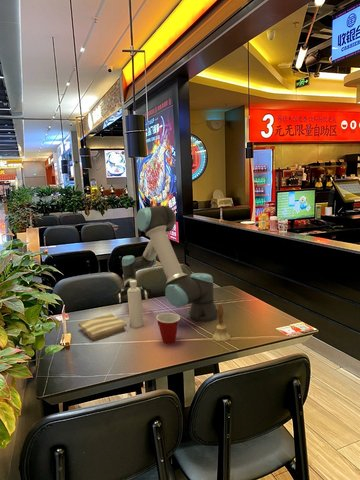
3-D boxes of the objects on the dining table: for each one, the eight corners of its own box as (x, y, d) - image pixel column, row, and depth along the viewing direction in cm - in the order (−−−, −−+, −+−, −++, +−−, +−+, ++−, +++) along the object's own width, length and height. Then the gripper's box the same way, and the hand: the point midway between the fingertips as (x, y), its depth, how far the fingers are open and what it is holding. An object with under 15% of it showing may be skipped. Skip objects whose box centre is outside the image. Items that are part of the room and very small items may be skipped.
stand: (127, 330, 178) (126, 323, 177) (92, 342, 167) (92, 334, 167) (111, 320, 192) (110, 313, 191) (78, 330, 182) (78, 322, 181)
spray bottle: (131, 322, 188) (127, 276, 183) (144, 322, 187) (140, 276, 183) (128, 327, 181) (124, 280, 177) (141, 327, 180) (137, 279, 176)
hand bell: (226, 343, 159) (224, 308, 156) (209, 339, 163) (207, 306, 161) (233, 335, 166) (232, 302, 163) (217, 332, 170) (216, 300, 168)
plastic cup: (178, 347, 157) (177, 321, 155) (155, 346, 160) (153, 320, 157) (183, 336, 168) (182, 312, 166) (161, 335, 170) (159, 311, 168)
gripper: (153, 290, 208) (157, 302, 187) (109, 295, 204) (109, 308, 183) (152, 277, 207) (156, 288, 186) (108, 282, 202) (108, 294, 182)
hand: (133, 298), depth 185 cm, fingers open, 13 cm apart
